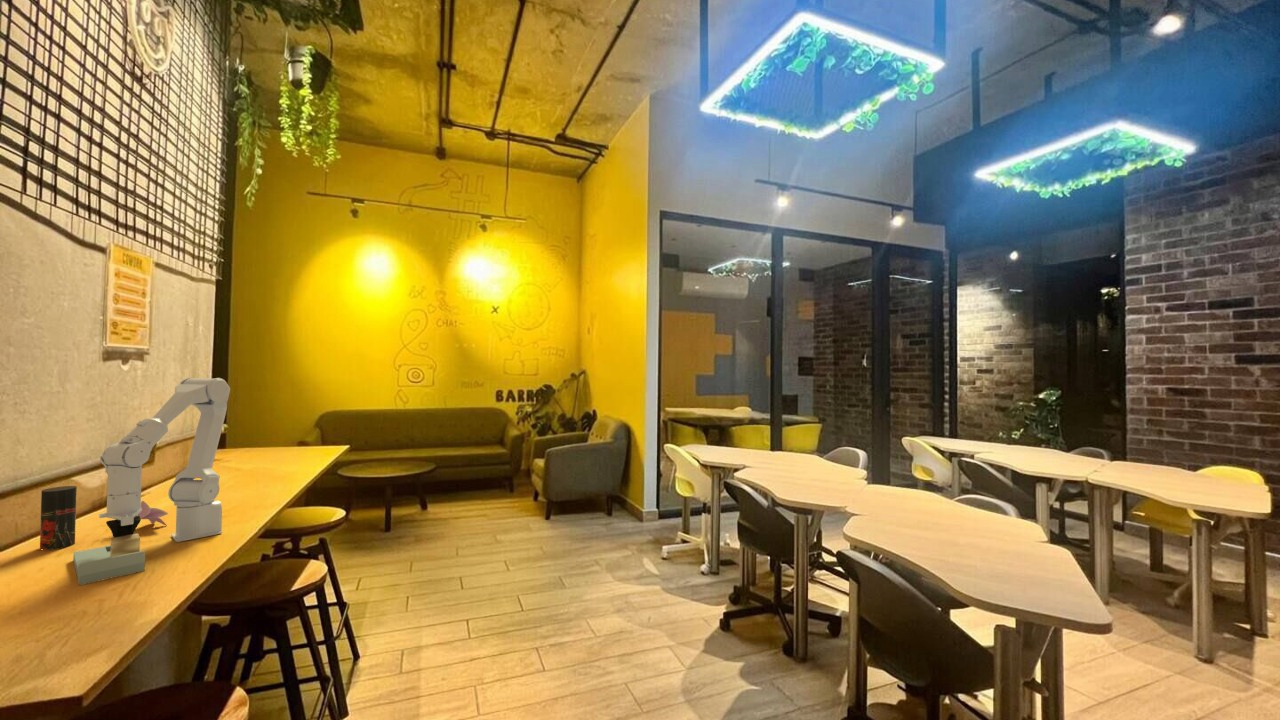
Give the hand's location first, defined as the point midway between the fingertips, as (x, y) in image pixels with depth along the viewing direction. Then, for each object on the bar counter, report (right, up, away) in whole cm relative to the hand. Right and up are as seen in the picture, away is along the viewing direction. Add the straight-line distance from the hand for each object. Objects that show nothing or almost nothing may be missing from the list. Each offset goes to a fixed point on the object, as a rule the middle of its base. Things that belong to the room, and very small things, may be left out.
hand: (122, 549), depth 119 cm
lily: (-18, -3, +24) cm, 30 cm away
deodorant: (-27, -3, +9) cm, 29 cm away
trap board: (-1, -3, -2) cm, 4 cm away
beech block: (+3, -1, -2) cm, 4 cm away
